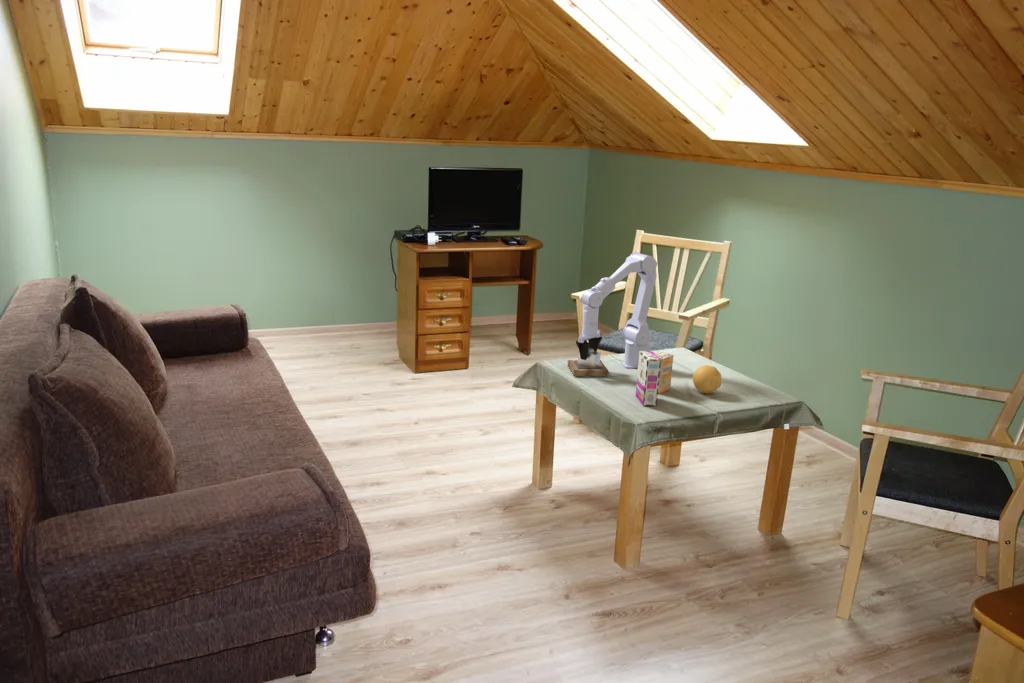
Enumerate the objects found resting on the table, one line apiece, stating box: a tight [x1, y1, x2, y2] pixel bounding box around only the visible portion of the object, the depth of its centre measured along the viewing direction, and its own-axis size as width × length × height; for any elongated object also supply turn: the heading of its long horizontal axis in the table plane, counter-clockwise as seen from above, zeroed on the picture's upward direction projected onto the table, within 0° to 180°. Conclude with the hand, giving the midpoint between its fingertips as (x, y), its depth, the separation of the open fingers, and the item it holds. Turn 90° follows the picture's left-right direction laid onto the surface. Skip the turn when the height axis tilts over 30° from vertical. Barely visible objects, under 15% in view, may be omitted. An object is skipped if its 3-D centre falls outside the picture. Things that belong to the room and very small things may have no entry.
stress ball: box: [692, 365, 722, 395], centre depth 282 cm, size 10×10×10 cm
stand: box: [567, 359, 609, 378], centre depth 302 cm, size 13×13×3 cm
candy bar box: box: [635, 350, 661, 407], centre depth 271 cm, size 11×5×16 cm, turn 5°
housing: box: [577, 348, 601, 368], centre depth 301 cm, size 5×9×6 cm, turn 58°
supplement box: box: [655, 352, 675, 395], centre depth 282 cm, size 8×5×13 cm, turn 143°
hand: (588, 357), depth 301 cm, fingers open, 7 cm apart
